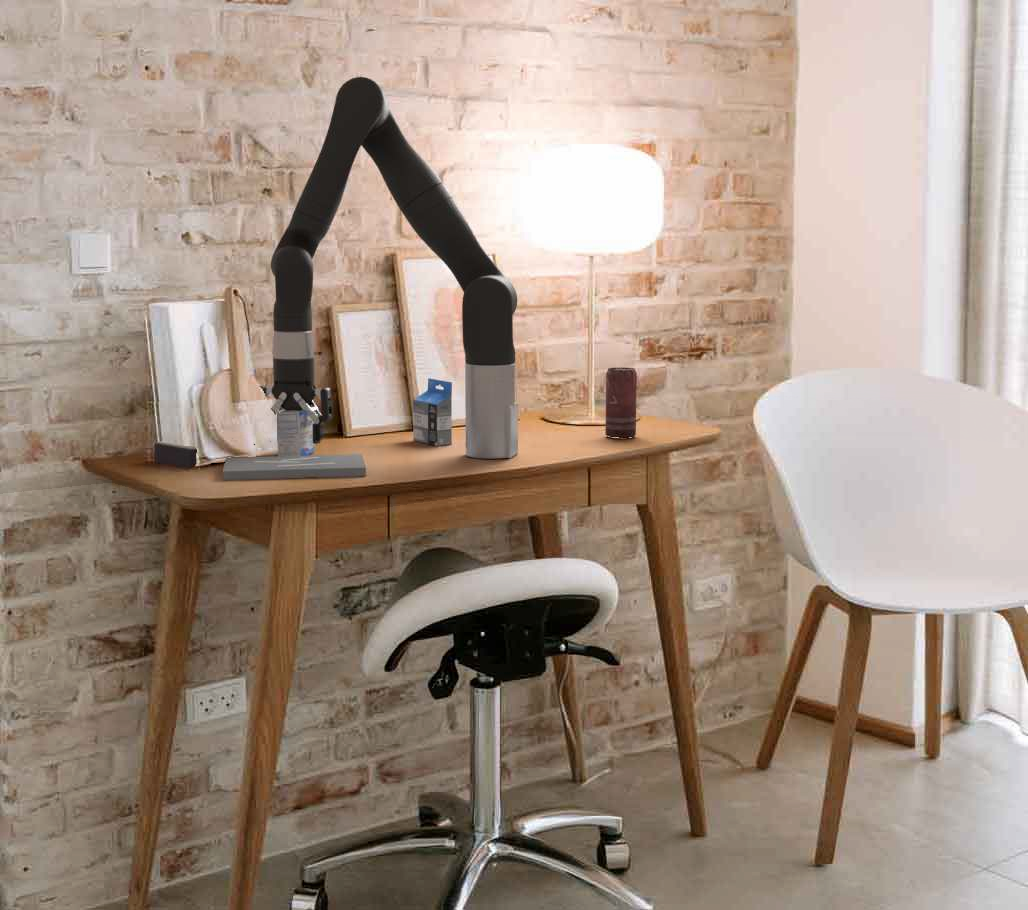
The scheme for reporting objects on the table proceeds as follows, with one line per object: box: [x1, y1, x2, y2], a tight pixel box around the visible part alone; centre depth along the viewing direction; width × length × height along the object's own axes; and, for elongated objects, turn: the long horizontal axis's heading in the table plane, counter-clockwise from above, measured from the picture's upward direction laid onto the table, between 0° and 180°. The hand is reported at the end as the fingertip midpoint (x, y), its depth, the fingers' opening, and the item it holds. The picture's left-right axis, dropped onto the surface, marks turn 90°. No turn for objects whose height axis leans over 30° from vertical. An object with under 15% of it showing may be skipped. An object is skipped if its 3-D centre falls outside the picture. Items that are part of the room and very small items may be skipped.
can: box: [605, 367, 638, 438], centre depth 276 cm, size 6×6×14 cm
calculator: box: [154, 440, 197, 469], centre depth 251 cm, size 11×4×15 cm
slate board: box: [222, 453, 367, 481], centre depth 239 cm, size 24×14×2 cm, turn 99°
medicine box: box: [276, 409, 315, 456], centre depth 254 cm, size 8×4×9 cm, turn 168°
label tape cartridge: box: [412, 377, 453, 447], centre depth 269 cm, size 9×4×12 cm, turn 36°
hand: (295, 442), depth 255 cm, fingers open, 8 cm apart
